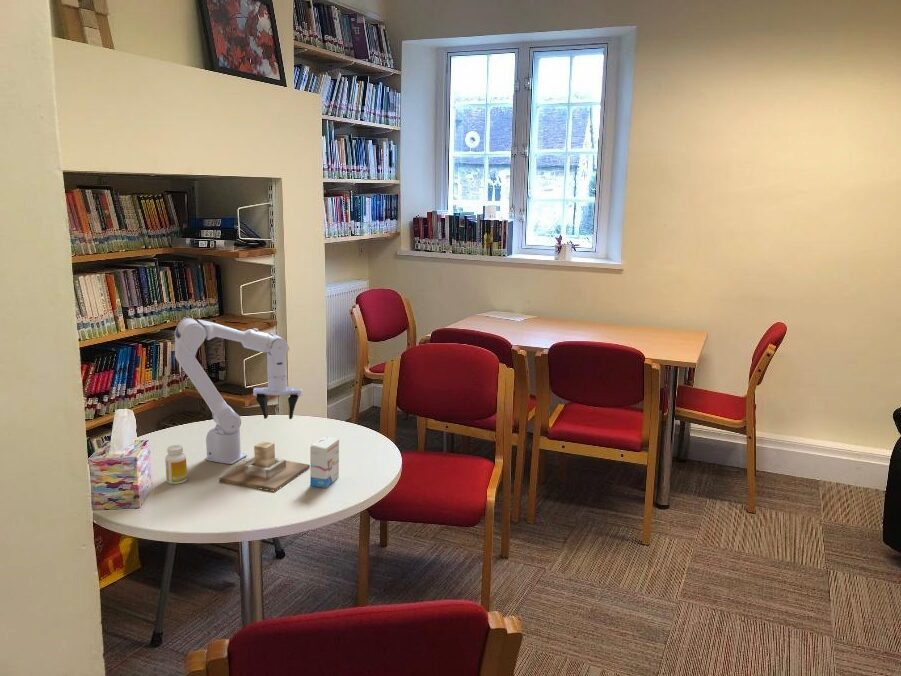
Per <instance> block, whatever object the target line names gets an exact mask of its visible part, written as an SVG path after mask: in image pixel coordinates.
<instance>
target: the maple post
mask: <svg viewBox="0 0 901 676" xmlns="http://www.w3.org/2000/svg"><path fill="white" fill-rule="evenodd" d="M275 446H276V445H275V443H273V442H269V441H268V442H267V441H260V442H259V443H257V444H255V445H254V446H253V450H254V451H253V452H254V453H253V455H254V457H255V466H260V467H265V468H269V467H271V466H272V465H274V464H275V458H276V455H275V454H276V452H275V451H276V449H275Z"/></svg>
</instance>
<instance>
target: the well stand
mask: <svg viewBox="0 0 901 676" xmlns="http://www.w3.org/2000/svg"><path fill="white" fill-rule="evenodd" d="M308 468H309V469H310V464H307V463H301V462H295V461H290V460H286V459H282V458H276V457H275V464H274V465H272V466H271V467H269V468H265V467H260V466H255V456H254V457H253V458H251V459H249V460H247V461H246V462H243V464H241V465H239V466H237V467H235V468H234V469H231V470H230V471H228V472H227V473H225V474H223V475H222V476H220V477H219V478H218V479H219V482H221V483H226V484H231V483H232V485H237V486H242V485H243V486H244V487H248V486H249V487H248V488H253V487H255V488H254V489H258V488H262V489H261V490H264V489H268V490H267V491H269V490H274V491H276V490H277V489H278V490H280V489H281V488H283V487H285V486H286V485H287V484H289V483H290V482H291V480H292V481H293V480H294V479H296V478H297V477H299V476H301V475H302V474H303V473H304V471H305V472H306V471H307V470H309V469H308ZM301 473H302V474H301ZM298 475H299V476H298ZM288 482H289V483H288ZM285 484H286V485H285ZM243 486H242V487H243ZM282 486H283V487H282ZM280 487H281V488H280ZM279 488H280V489H279ZM278 490H277V491H278ZM274 491H273V492H274ZM277 491H276V492H277Z"/></svg>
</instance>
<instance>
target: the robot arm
mask: <svg viewBox="0 0 901 676" xmlns="http://www.w3.org/2000/svg"><path fill="white" fill-rule="evenodd" d="M215 338H220V339H225V340H230V341H233V342H238V343H241V345H242V347H243V348H244V349H249V350H253V351H256V352H260V353H266V355H267V357H266V358H267V359H266V360H267V361H266V365H267V367H266V368H267V371H266V372H267V387H264V386H263V387H254V388H253V390H252V392H253V393H252V395H253V397H254V396H256V398H255V399H256V402H257V404H258V405H259V407H260V409H261V411H262V412H261V413H262V415H263V418H264V420H265V419H267V418H268V417H269V408H268V398H269V397H268V396H289V397H287V398H288V399H287V400H288V412H289V413H288V419H289V420H292V419H293V417H294V411H295V408H296V405H297V402H298V399H299V397H302V396H303V388H297V387H289V386H288V370H287V365H288V364H287V355H288V353H289V350H290V346H289V344H288V342H287V341H286V339H284V338H283V337H281V336H279V335H277V334H276V333H272V332H268V333H267V332H264V331H263V332H262V331H259V329H258V328H257V327H256V328H255V327H254V328H252V329H251V328H248V329H246V330H243V331H242V330H240V329H239V330H238V329H236V328H232V327H229V326H226V325H223V324H221V323H220V324H219V323H217V322H212V321H208V320H203V319H197V320H196V319H194V318H192V317H187V318H183V319H181V320H180V321H179V322H178V324H177V326H176V327H175V330H174V340H175V342H174V357H175V359H176V361H177V362H178V365H180V366H181V368H182V369H183V371H184V373H185V374H186V375H187V378H189V380H190V381H191V383H192V384H193V385H194V388H195V389H196V390H197V392H198V393H199V394H200V396H201V398H202V399H203V400H204V402H205V403H206V404H207V406H208V408H209V409H210V411H211V413H212V414H211V415H212V419H213V422H215V423H216V425H215V427H212V428H210V429H209V430H208V432H207V433H206V438H205V444H206V457H205V458H204V460H205V461H209V462H216V463H221V464H227V465H233V464H235V463H236V462H238V461H240V460H242V459H243V458H245V457H247V456H248V454H247V453H243V452H242V451H241V450H242V449H241V448H242V447H241V426H242V418H241V416H240V415H239V414H238V413H237V412H235V410H234V408H232V407H231V406H230V405H229V404H227V402H226V401H225V399H224V398H223V396H222V395H221V393H220V392H219V390H217V387H216V386H215V384H214V382H213V381H212V380H211V379H210V377H209V375H208V374H207V373H206V371H205V370H204V368H203V366H202V365H201V364H200V363H199V361H198V359H197V358H196V356H197V352H198V349H199V348H200V346H202V344H203V343H204V341H205V339H206V340H207V341H209V340H211V339H215Z"/></svg>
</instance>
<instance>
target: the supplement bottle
mask: <svg viewBox="0 0 901 676" xmlns="http://www.w3.org/2000/svg"><path fill="white" fill-rule="evenodd" d="M166 450H167V452H166V453H167V454H166V456H165V458H164V461H165V476H166V482H167V483H168V484H170V485H178V484H179V485H180V484H182V483H185V482H186V481H187V480H188V471H187V470H188V468H187V465H188V464H187V456H186V454H185V452H184V447H183V446H182V445H180V444H176V445H175V444H174V445H169V446H168V447H167V449H166Z"/></svg>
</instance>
